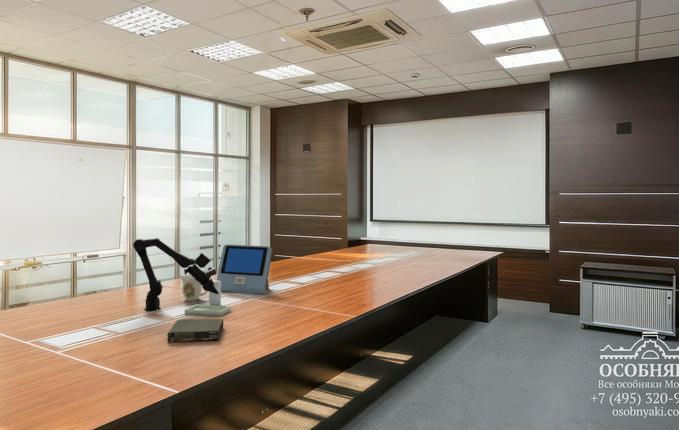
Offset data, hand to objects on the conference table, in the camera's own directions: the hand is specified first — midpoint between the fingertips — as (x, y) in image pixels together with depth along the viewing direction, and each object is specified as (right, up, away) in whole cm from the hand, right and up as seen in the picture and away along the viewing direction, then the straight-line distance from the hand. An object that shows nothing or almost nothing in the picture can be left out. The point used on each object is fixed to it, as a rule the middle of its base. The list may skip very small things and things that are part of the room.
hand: (217, 292), depth 260 cm
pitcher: (-18, -7, +13) cm, 23 cm away
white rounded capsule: (-1, -7, 0) cm, 7 cm away
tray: (-1, -8, -17) cm, 19 cm away
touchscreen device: (+7, -6, +42) cm, 43 cm away
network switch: (+6, -10, -56) cm, 57 cm away
